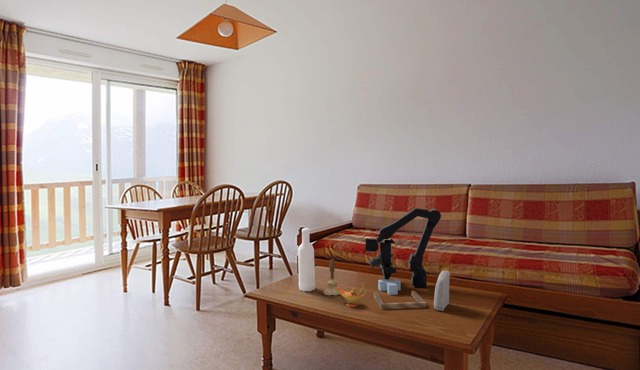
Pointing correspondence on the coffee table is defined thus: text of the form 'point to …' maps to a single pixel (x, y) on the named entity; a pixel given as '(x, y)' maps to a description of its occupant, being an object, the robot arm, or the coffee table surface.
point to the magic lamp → (350, 295)
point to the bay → (418, 304)
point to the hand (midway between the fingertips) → (386, 282)
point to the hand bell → (331, 281)
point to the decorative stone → (442, 291)
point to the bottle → (306, 263)
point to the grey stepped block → (390, 286)
